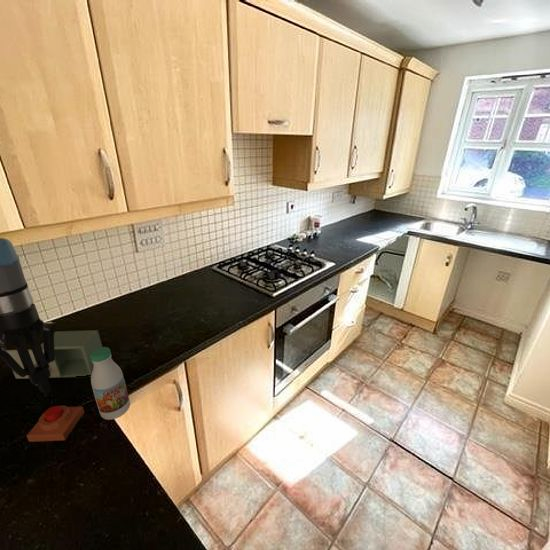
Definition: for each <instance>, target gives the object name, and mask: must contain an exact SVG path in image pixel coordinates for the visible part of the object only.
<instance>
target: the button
mask: <svg viewBox="0 0 550 550" xmlns="http://www.w3.org/2000/svg"><path fill="white" fill-rule="evenodd" d="M59 406H60V405H55V406H51V407H49V408H48V409H46V411H44V412H43V413H44V416H45V419H46V421H48V422H52V421H54V420H57V419H58V418H59V417H61V416H62V410H61V407H59Z"/></svg>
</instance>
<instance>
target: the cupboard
mask: <svg viewBox="0 0 550 550" xmlns="http://www.w3.org/2000/svg"><path fill="white" fill-rule="evenodd" d="M40 345H41V348H42V349H44V343H43V342H42V343H40ZM100 347H103V344H102V341H101V337H100V333H99V330H98V329H96V330H65V331H63V330H62V331H54V352H55V358H56V360H57V363H58V366H59V369H60V372H61V375H62V376H61V377H50V378H49V379H55V378H56V379H57V378H58V379H59V378H77V377H76V376H86V375H92V371H93V366H94V364H93V363H92V360H91V357H90V354H91V352H92V351H93V350H95V349H97V348H100Z"/></svg>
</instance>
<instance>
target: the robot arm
mask: <svg viewBox="0 0 550 550" xmlns="http://www.w3.org/2000/svg"><path fill="white" fill-rule="evenodd" d="M22 267H23V266H22V264H21V261H20V256H19V255H18V253H17V251H16V249H15V247H14V244H13V243H12V241H11V240H9V239H8V238H3V237H0V359H2V360H3V362H4V363H5V364H6V365H7V366H8V367H9V368H10V369H11V370H13V371H14V372H15V373H16V374H17V375H19V376H21V377H25V376H26V375H28V377H29V378H28V379H29V381H30V382H29V383H31V384H32V385H34V386H37V388H38V391H39V392H41V393H42V394H44V395H46V394H48V393H50V392H51V391H52V387H51V383H50V382H49V380H48V379H50V378H49V377H50V375H51V374H50V372H49V369H48V368H49V365H48V364H49V363H50V362H53V361H54V360H55V352H54V333H55V332H56V328H57V324H56V323H54V322H52V321H44V320H42V319H41V318H40V315H39V312H38V310H37V306H36V304H35V303H34V297H33V294H32V292H31V290H30V287H29V284H28V282H27V281H26V277H25V274H24V270H23V268H22ZM41 333H42V341H43V342H42V343H44V353H43V350H42V348H41V339H40V336H41ZM5 345H9V346H11V347H14V348H15V350H17V352H18V354H19V357H20V359H21V362H22V364H23V367H24V369H23V368H22V367H21V366H20V365H19V364H18V363H17V362H16V361H15V360H14V359H13V357H12V356H11V355H10V354H9V353H7V352H6V350H7V346H5ZM28 345H29V346H28ZM29 347H30V349H31V350H32V353H33V355H34V358H35V360H36V363H37V365H38V366H39V367H36V368H35V367H34V364H33V361H32V359H31V356H30V354H29V351H28V350H29ZM13 371H12V372H13Z"/></svg>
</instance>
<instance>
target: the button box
mask: <svg viewBox="0 0 550 550" xmlns="http://www.w3.org/2000/svg"><path fill="white" fill-rule="evenodd" d="M58 406H59V407H61V410H62V416H61V417H59V418H58V419H57V420H54V421H52V422H48V421H46V419H45V416H44V413H45V412H43V413H42V414H41V416H40V417H38V421H37V422H36V423H35V425H34V426H33V427H32V428H31V429H30V431H28V433H27V434H26V438H27V441H28V442H29V443H31V442H33V443H34V442H35V443H36V442H55V441H56V442H57V441H66V440H67V438H68V437H69V436H70V434H71V432H72V431H73V430H74V428H75V427H76V425H77V424H78V423H79V421H80V420H81V419H82V417H83V415H84V414H85V410H84V407H83V406H66V405H58Z"/></svg>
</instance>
